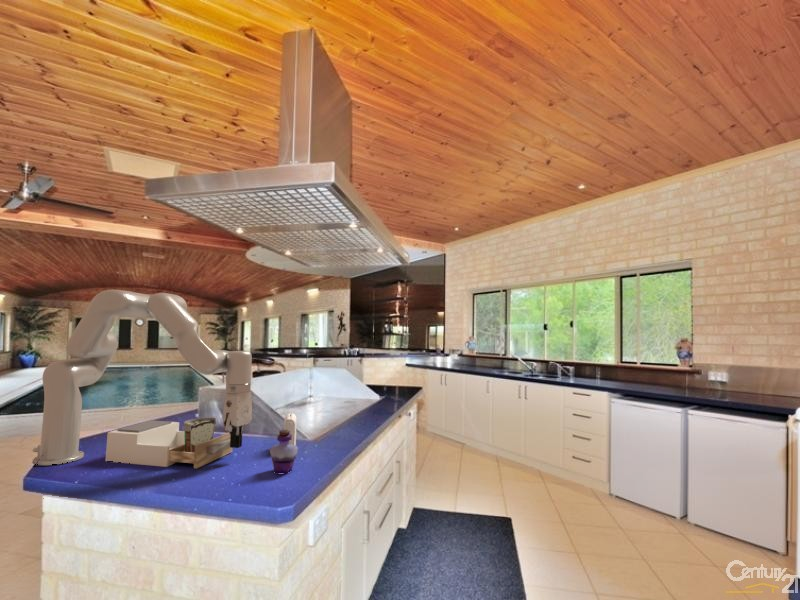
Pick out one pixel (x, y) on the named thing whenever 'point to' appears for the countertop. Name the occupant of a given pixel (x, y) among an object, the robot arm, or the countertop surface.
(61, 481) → the countertop surface
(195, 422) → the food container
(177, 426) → the dock
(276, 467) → the potion bottle
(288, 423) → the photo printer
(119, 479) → the countertop surface
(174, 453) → the sliding tray
